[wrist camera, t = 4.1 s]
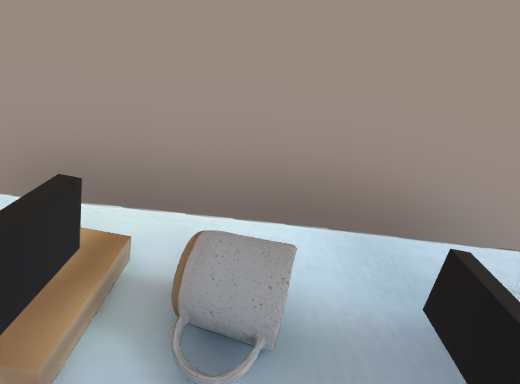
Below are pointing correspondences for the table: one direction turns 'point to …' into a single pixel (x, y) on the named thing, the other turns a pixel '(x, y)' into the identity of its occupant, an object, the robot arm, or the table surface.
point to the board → (62, 310)
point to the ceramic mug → (231, 295)
